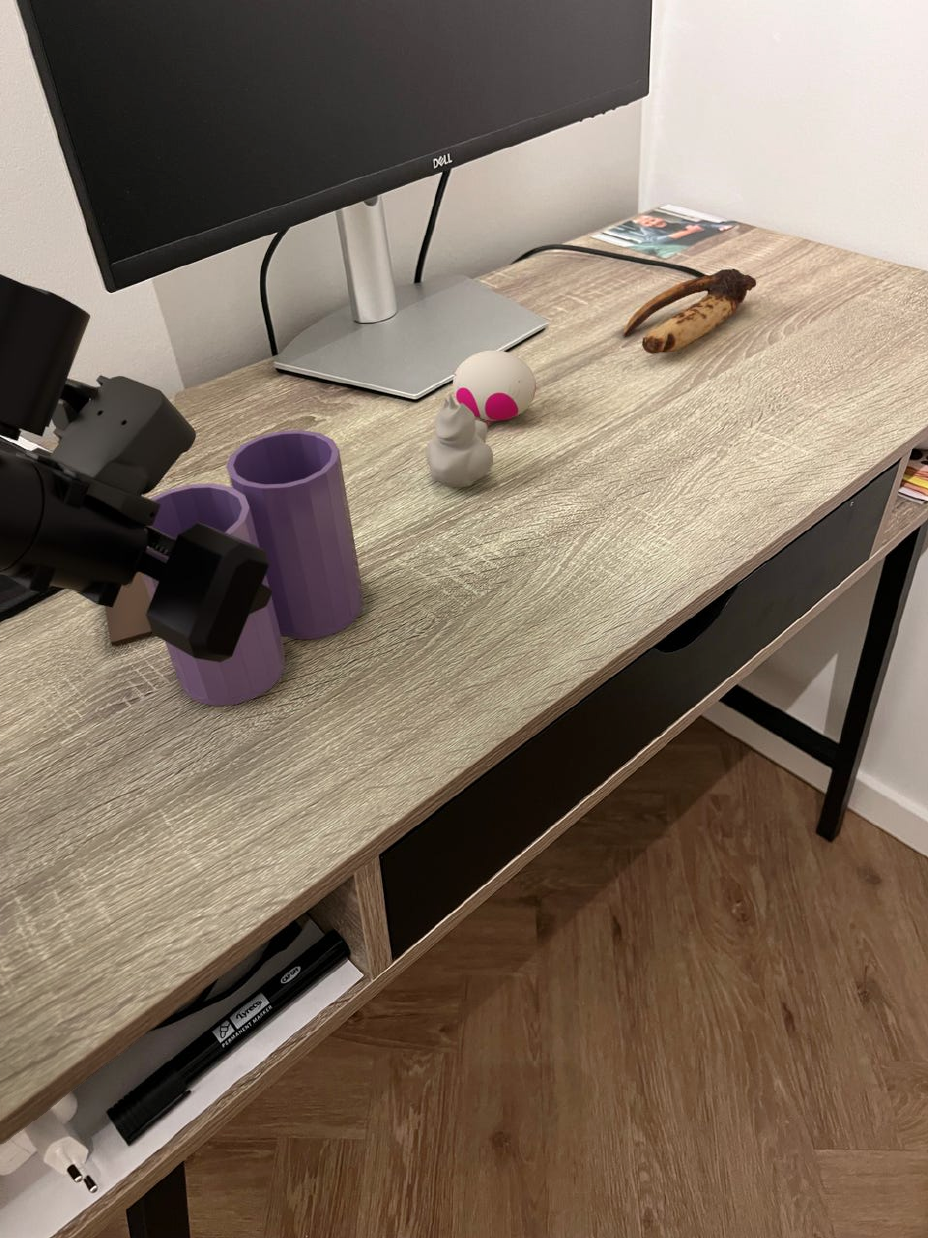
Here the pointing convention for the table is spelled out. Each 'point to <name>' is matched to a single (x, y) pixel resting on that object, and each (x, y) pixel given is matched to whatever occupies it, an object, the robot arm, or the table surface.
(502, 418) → the stress ball
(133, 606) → the coaster
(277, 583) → the tumbler
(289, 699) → the table surface
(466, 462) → the rubber duck
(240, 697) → the tumbler
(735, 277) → the lashed bone hook
